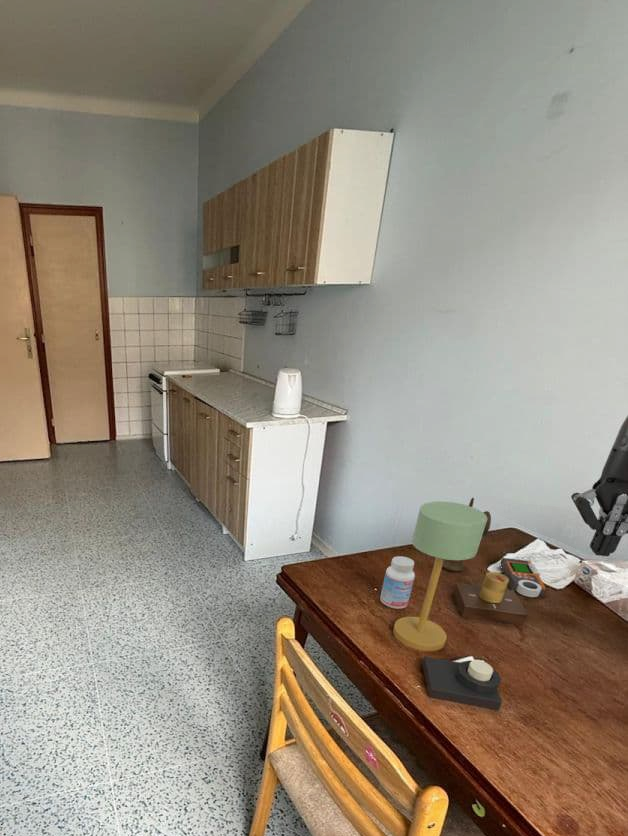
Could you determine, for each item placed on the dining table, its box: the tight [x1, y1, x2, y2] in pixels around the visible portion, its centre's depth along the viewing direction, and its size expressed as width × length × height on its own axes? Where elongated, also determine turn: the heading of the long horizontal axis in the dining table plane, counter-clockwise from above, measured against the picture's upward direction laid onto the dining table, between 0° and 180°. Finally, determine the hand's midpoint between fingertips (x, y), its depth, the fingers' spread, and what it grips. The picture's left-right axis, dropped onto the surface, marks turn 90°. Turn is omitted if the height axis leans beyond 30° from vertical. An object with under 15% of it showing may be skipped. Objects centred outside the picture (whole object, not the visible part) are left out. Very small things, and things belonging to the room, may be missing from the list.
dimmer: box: [452, 582, 528, 627], centre depth 107 cm, size 12×10×3 cm
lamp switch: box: [467, 659, 494, 681], centre depth 84 cm, size 4×4×2 cm
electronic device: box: [499, 557, 547, 598], centre depth 117 cm, size 7×3×15 cm
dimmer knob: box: [479, 571, 509, 603], centre depth 105 cm, size 4×4×6 cm
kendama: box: [442, 497, 492, 573], centre depth 120 cm, size 6×10×20 cm, turn 72°
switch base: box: [421, 656, 503, 711], centre depth 86 cm, size 11×9×4 cm
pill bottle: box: [379, 555, 416, 610], centre depth 108 cm, size 6×6×11 cm
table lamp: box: [392, 501, 487, 652], centre depth 93 cm, size 11×11×28 cm
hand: (599, 553), depth 75 cm, fingers closed
